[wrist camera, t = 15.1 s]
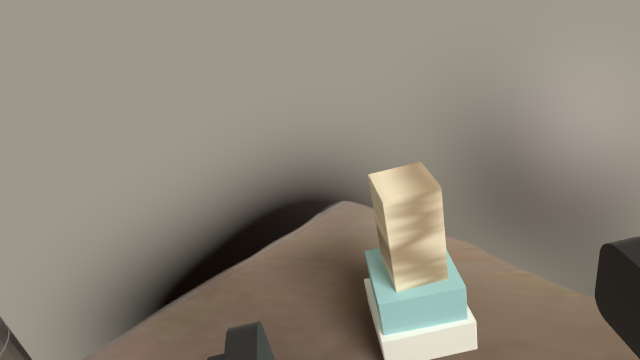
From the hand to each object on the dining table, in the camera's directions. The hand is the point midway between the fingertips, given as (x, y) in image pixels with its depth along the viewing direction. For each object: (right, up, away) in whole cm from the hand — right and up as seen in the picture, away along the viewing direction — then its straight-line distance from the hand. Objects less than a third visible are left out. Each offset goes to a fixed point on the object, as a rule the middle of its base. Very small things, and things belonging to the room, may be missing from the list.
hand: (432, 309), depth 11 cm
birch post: (+7, -6, +34) cm, 35 cm away
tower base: (+8, -12, +38) cm, 41 cm away
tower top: (+7, -9, +36) cm, 38 cm away
